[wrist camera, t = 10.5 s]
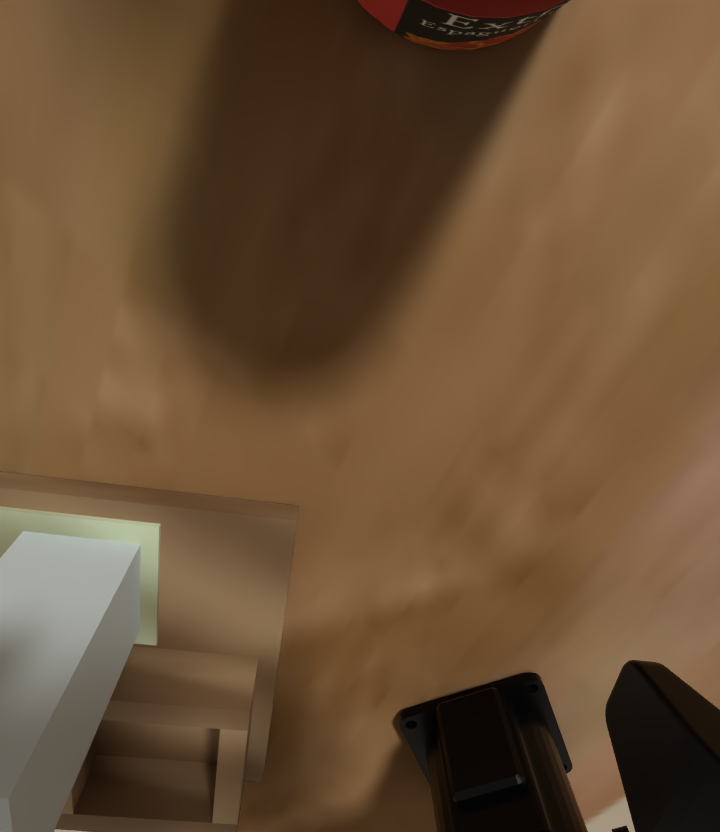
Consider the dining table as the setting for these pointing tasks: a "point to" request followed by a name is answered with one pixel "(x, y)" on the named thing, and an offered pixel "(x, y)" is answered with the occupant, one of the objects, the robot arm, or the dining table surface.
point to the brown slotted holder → (175, 648)
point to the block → (58, 663)
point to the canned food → (460, 20)
